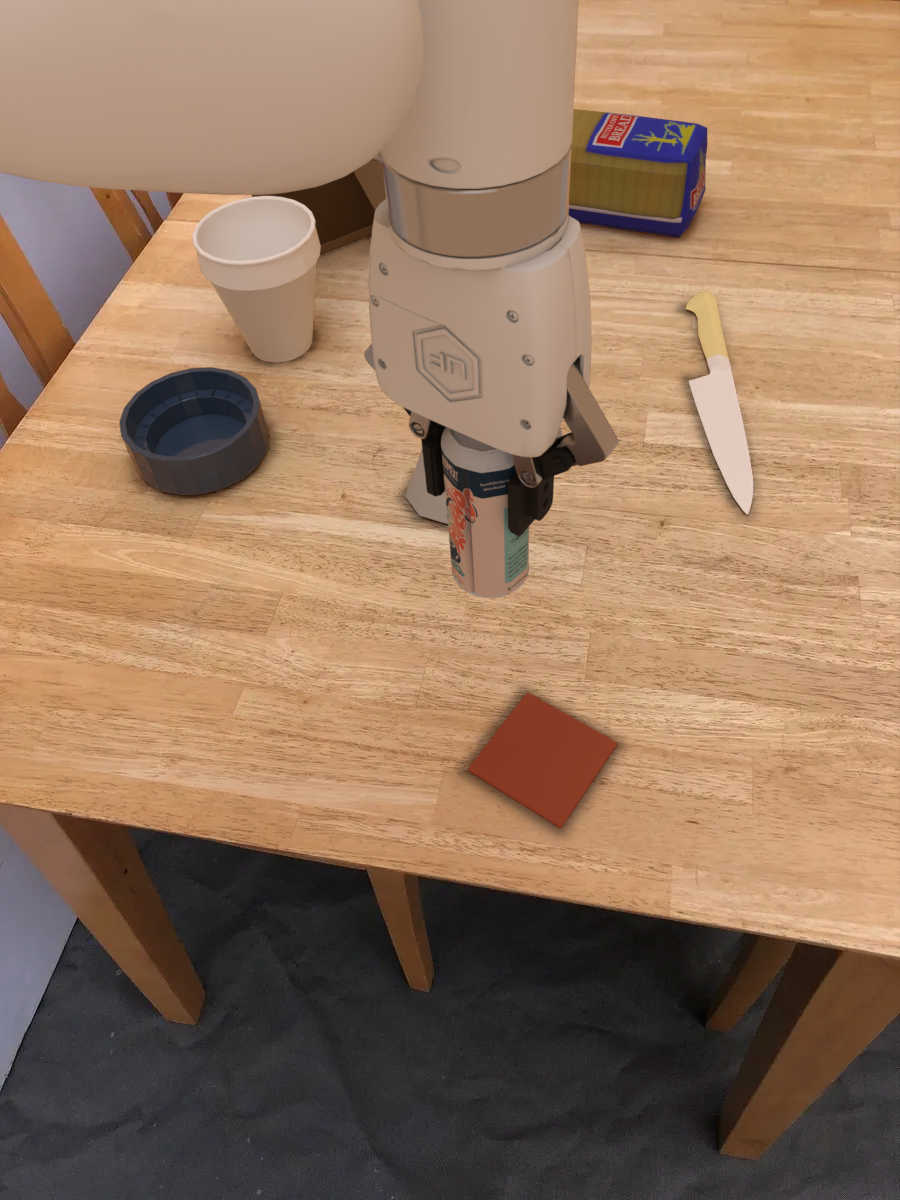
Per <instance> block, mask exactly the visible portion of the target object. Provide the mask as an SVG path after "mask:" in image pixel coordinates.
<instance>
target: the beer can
mask: <svg viewBox="0 0 900 1200" xmlns="http://www.w3.org/2000/svg"><path fill="white" fill-rule="evenodd" d="M441 448H442V459H443V471H444V483H445V495H446V506H447V518H448V524H447V527H448V541H449V552H450V564H451V574H452V578H453V579H454V582H455V583H456V584H457V585H458V586H459V588H461V589H462V590H463V591H465V592H466V593H467V594H470V595H472V596H475V597H477V598H484V599H498V598H502V597H505V596H508V595H510V594H512V593H514V592H515V591H517V590H518V589H520V588H521V587H522V586H523V585H524V584H525V582H526V580H527V578H528V577H529V573H530V558H529V557H530V526H529V527H528V528H527V529H526V530H525V532H524V533H523V534H522V535H521V536H517V535H515V534H513V533H511V532H510V529H508V483H509V481H510V479H511V478H512V477H513V476H514V475H515V474H516V473H517V472H516V468H515V465H514V461H513V457H512V454H510V453H507V452H504V451H502V450H499V449H497V448H494V447H492V446H489V445H487V444H485V443H482V442H480V441H478V440H475V439H473V438H471V437H468V436H466V435H464V434H461V433H459V432H457V431H454V430H452V429H450V428H448V427H445V429H444V431H443V434H442V437H441Z"/></svg>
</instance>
